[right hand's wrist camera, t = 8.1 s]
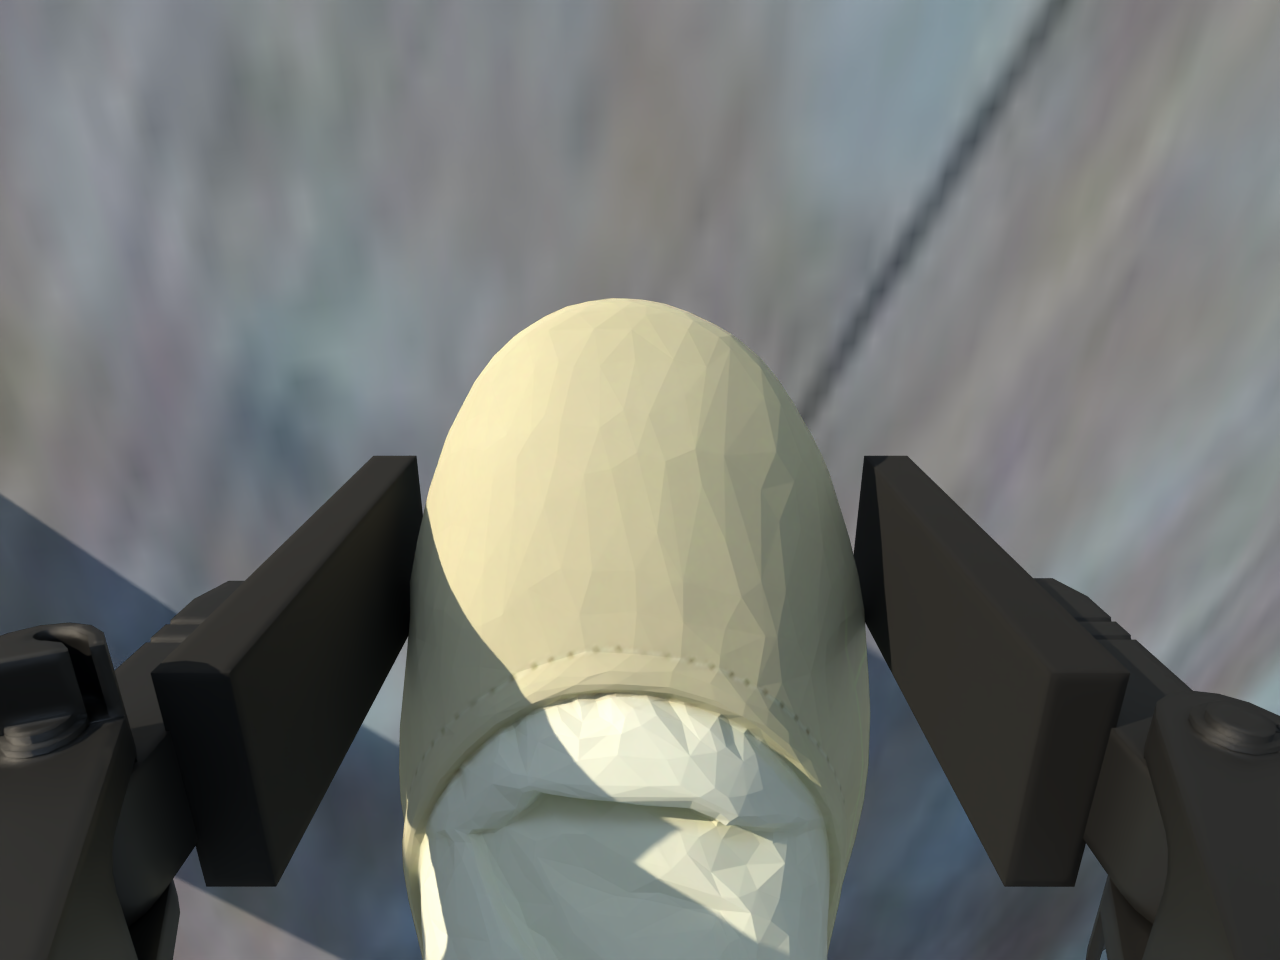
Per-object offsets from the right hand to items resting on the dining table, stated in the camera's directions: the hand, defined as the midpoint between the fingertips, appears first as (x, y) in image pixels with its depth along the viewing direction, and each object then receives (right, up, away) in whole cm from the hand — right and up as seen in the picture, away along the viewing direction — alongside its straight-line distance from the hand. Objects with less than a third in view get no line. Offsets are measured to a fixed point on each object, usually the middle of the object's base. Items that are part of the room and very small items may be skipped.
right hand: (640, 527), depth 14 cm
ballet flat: (0, -7, +3) cm, 8 cm away
